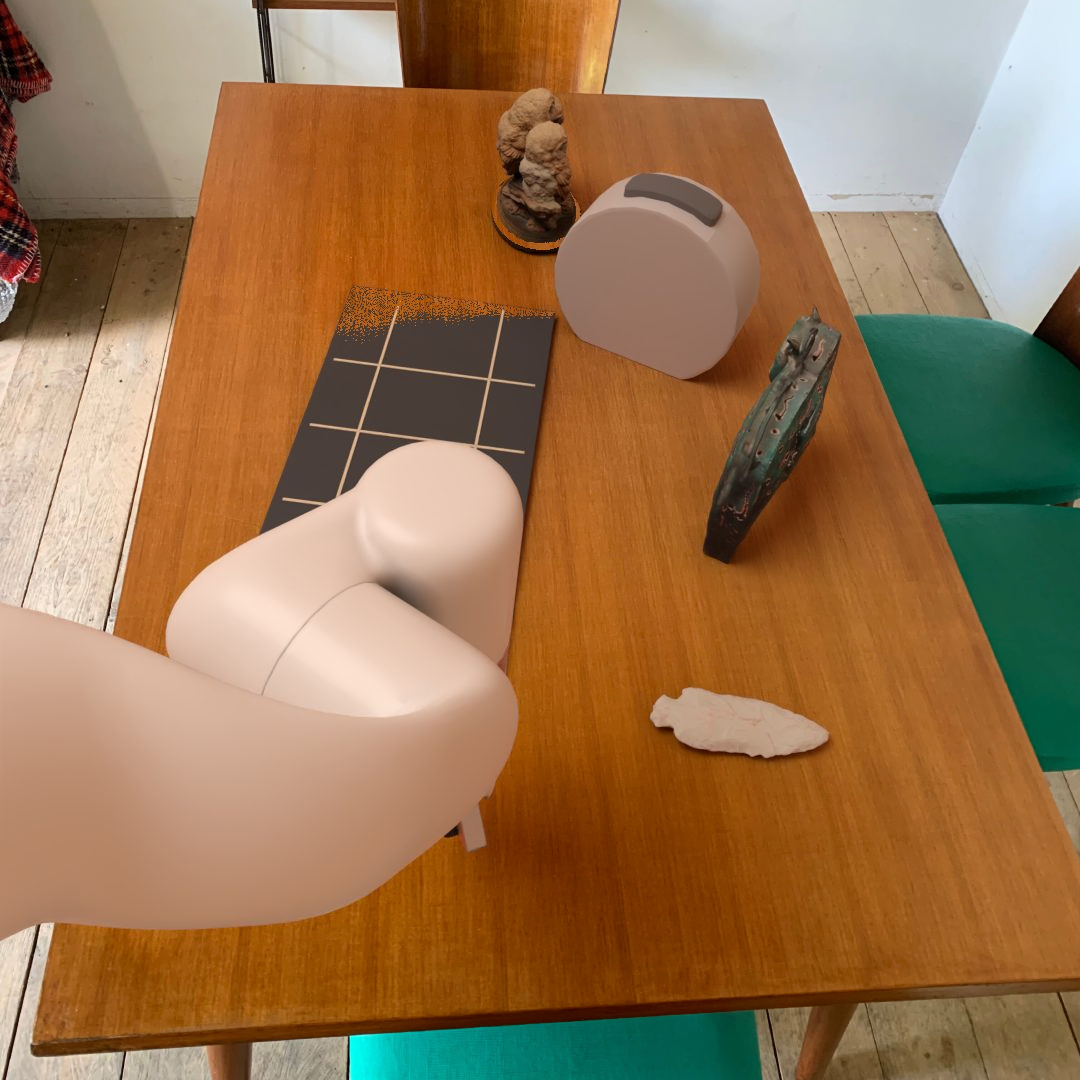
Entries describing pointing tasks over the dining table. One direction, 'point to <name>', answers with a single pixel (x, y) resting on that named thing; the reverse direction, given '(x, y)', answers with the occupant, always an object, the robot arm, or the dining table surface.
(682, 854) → the dining table surface
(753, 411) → the ceramic cat
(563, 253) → the alarm clock
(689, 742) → the stone tool
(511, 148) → the owl figurine
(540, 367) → the board
